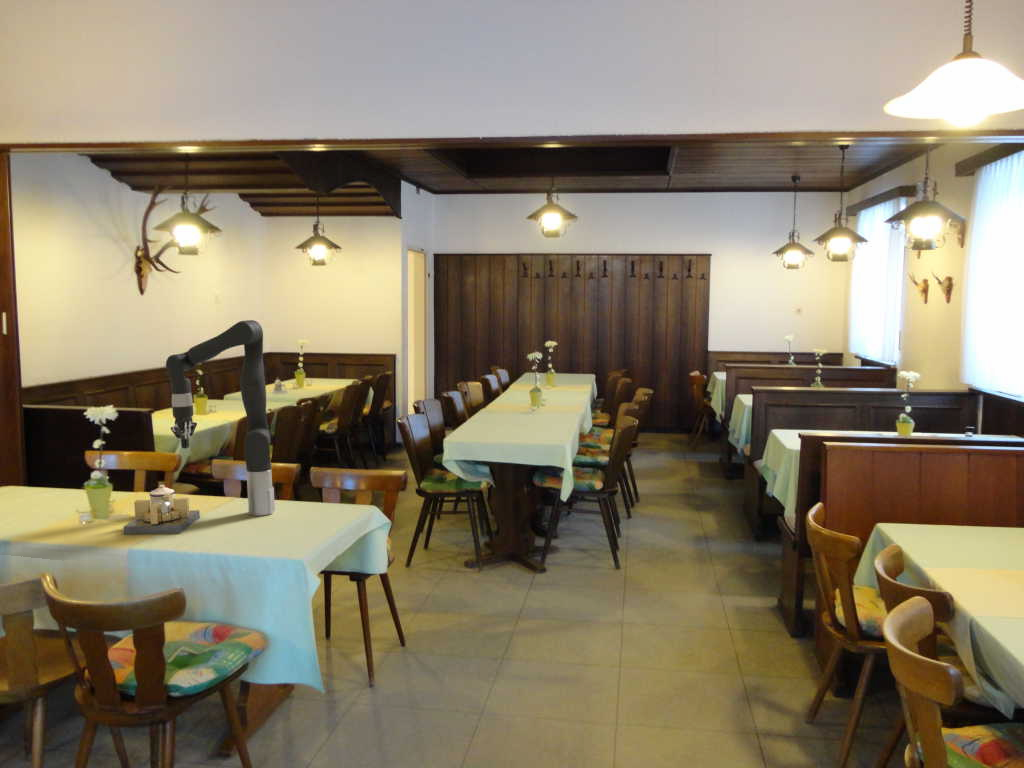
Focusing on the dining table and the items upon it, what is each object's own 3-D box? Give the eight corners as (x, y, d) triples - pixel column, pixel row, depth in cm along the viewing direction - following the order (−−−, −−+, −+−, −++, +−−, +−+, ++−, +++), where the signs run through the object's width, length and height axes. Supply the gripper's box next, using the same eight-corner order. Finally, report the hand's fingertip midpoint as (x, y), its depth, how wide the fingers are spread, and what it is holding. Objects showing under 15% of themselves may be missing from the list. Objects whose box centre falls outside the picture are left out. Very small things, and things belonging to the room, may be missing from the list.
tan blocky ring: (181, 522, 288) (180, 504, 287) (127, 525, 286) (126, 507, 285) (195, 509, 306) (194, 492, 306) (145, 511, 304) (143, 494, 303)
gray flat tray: (199, 517, 307) (198, 495, 306) (180, 533, 287) (179, 508, 286) (146, 519, 306) (145, 496, 305) (124, 534, 286) (122, 510, 285)
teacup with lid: (167, 517, 308) (166, 488, 306) (145, 517, 309) (144, 487, 307) (184, 509, 319) (182, 481, 318) (163, 509, 321) (161, 480, 319)
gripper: (178, 407, 306) (182, 451, 308) (201, 402, 318) (204, 445, 320) (162, 406, 308) (165, 451, 310) (185, 402, 320) (188, 444, 322)
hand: (185, 448), depth 315 cm, fingers closed
